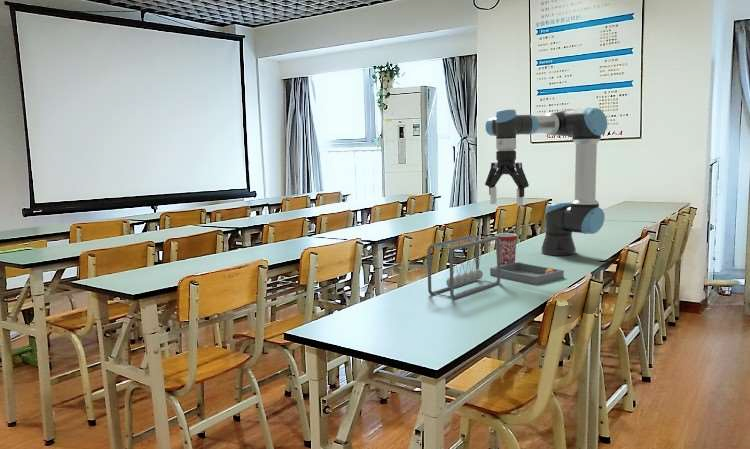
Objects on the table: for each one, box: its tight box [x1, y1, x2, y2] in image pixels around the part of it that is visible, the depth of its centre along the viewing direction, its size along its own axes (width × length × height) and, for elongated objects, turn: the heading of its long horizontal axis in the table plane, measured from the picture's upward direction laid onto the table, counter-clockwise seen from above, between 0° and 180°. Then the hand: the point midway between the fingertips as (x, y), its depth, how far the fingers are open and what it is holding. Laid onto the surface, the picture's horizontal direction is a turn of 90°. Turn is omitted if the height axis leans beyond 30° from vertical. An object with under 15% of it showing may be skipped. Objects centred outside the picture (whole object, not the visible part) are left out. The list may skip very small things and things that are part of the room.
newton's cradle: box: [426, 234, 501, 300], centre depth 210 cm, size 30×10×18 cm, turn 136°
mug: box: [494, 232, 518, 266], centre depth 248 cm, size 13×9×14 cm
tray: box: [489, 262, 565, 285], centre depth 226 cm, size 16×22×3 cm
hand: (506, 204), depth 233 cm, fingers open, 13 cm apart
